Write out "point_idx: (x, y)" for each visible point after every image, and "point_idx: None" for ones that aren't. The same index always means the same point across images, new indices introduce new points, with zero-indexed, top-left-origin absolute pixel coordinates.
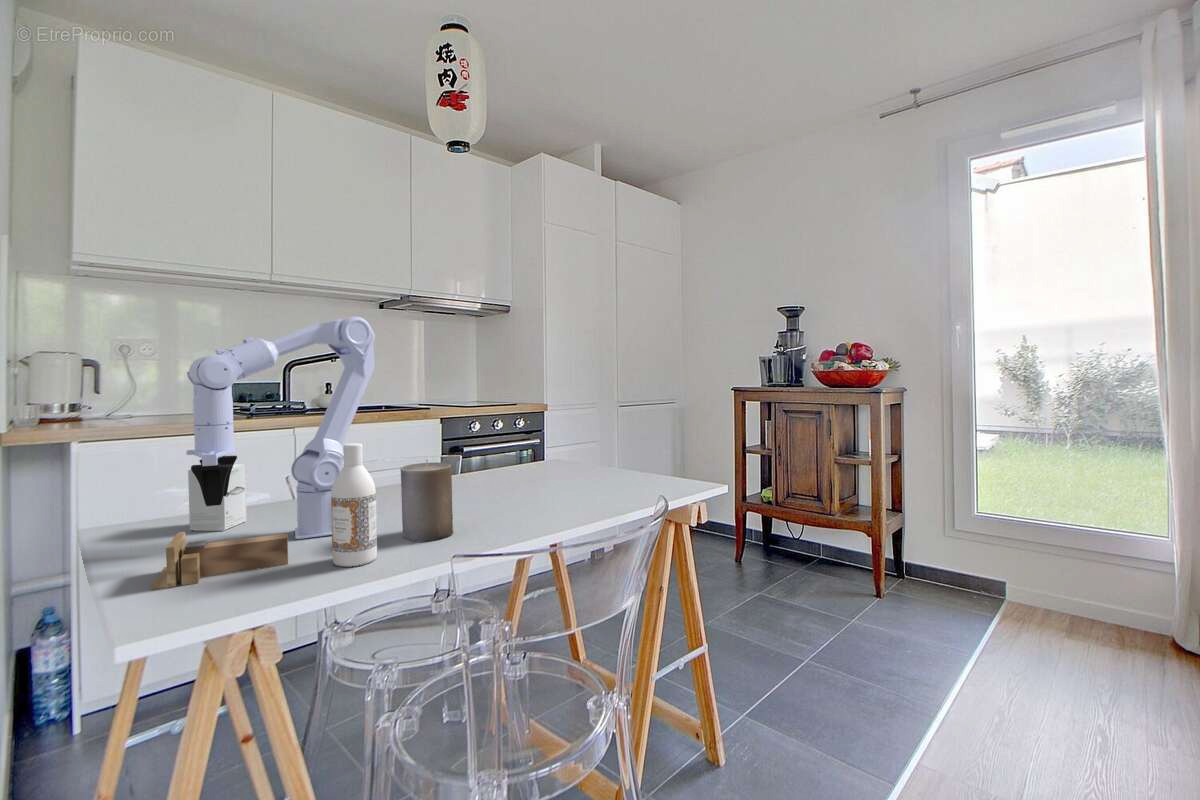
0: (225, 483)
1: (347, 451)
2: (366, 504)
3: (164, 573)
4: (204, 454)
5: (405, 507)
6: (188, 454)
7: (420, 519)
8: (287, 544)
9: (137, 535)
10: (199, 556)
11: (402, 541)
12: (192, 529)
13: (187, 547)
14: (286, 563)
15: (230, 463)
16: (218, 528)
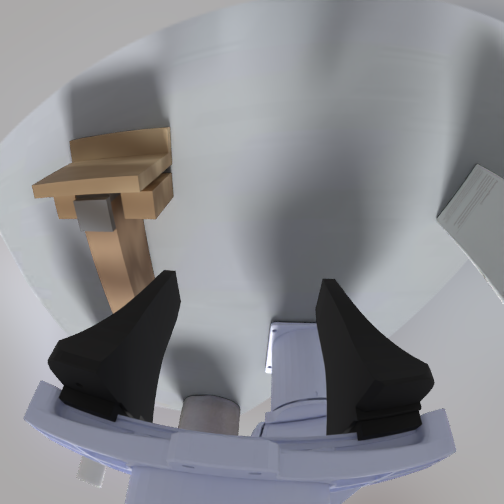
0: (324, 344)
1: (79, 470)
2: None
3: (124, 140)
4: (31, 424)
5: (192, 429)
6: (173, 436)
7: (180, 420)
8: None
9: (495, 81)
10: None
11: (194, 391)
12: (475, 168)
13: (74, 204)
14: None
15: (330, 422)
16: (445, 212)
